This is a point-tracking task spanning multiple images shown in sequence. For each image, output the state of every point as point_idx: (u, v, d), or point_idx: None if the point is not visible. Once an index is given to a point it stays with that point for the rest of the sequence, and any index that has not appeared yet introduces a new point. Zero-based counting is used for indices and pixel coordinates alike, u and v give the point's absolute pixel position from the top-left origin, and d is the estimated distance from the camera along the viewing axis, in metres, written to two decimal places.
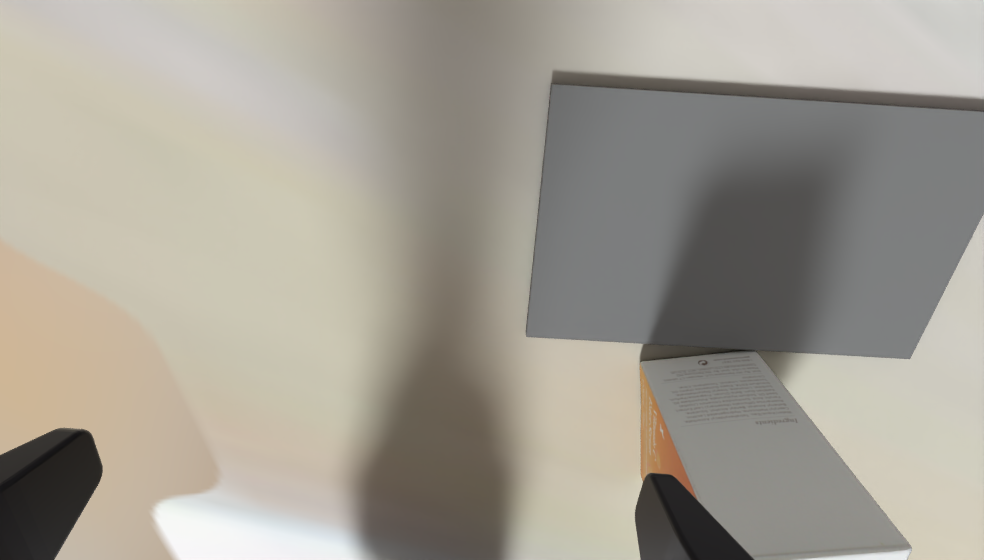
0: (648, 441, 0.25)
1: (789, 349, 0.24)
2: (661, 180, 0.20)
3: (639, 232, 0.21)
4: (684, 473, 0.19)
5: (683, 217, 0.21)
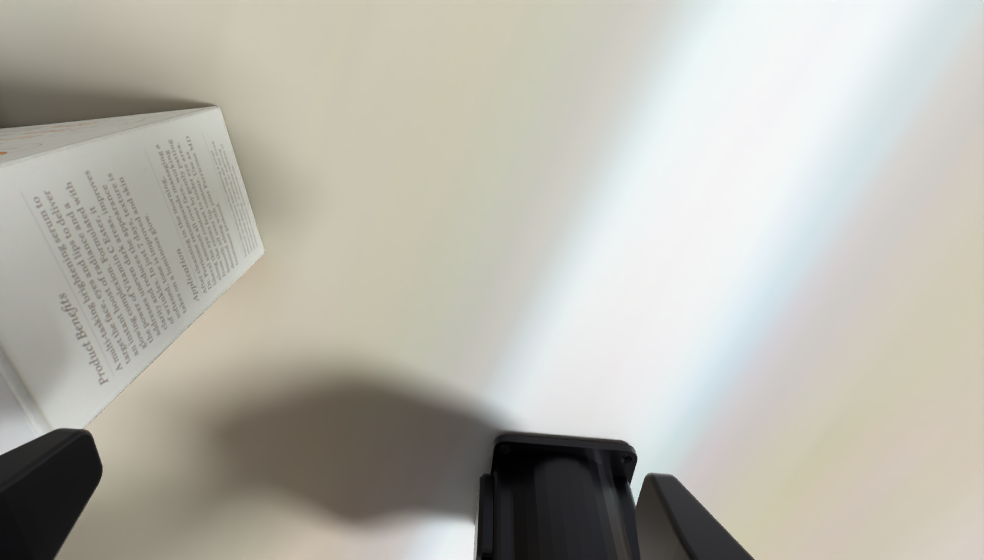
0: None
1: None
2: None
3: None
4: None
5: None
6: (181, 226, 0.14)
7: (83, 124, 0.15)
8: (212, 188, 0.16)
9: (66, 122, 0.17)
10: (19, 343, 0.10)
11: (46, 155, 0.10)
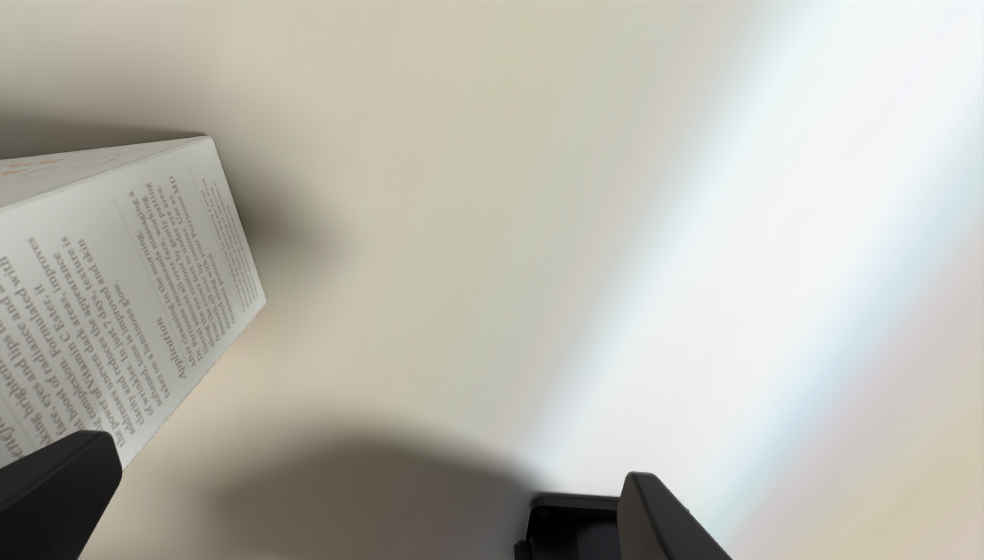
0: None
1: None
2: None
3: None
4: None
5: None
6: (163, 290, 0.12)
7: (46, 162, 0.13)
8: (202, 236, 0.13)
9: (29, 157, 0.14)
10: None
11: None
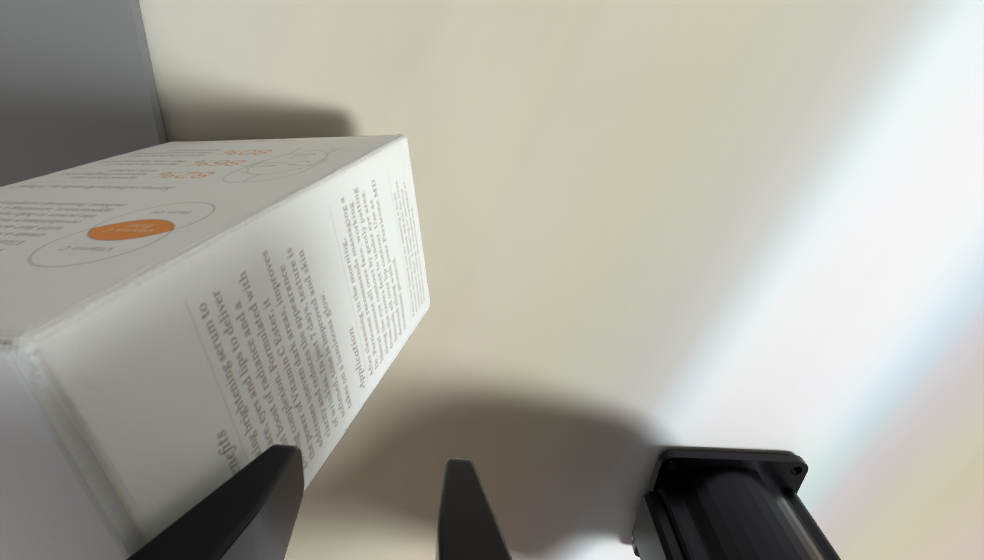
0: None
1: (144, 93, 0.15)
2: None
3: None
4: None
5: None
6: (357, 298, 0.11)
7: (257, 152, 0.13)
8: (390, 241, 0.13)
9: (239, 143, 0.14)
10: (162, 520, 0.07)
11: (220, 240, 0.07)
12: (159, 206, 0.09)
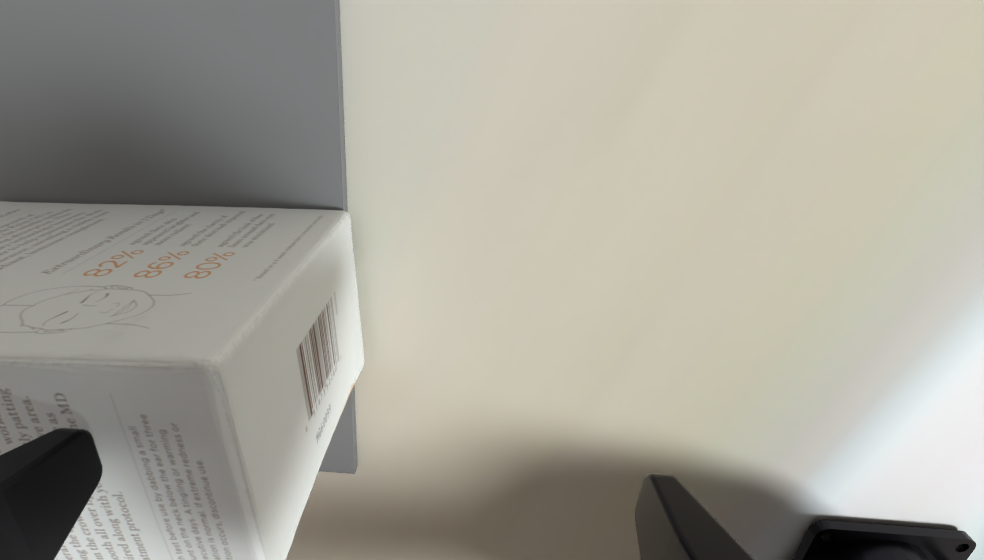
0: None
1: (336, 150, 0.14)
2: None
3: None
4: None
5: None
6: None
7: (200, 272, 0.11)
8: (109, 473, 0.09)
9: (280, 247, 0.12)
10: None
11: None
12: None
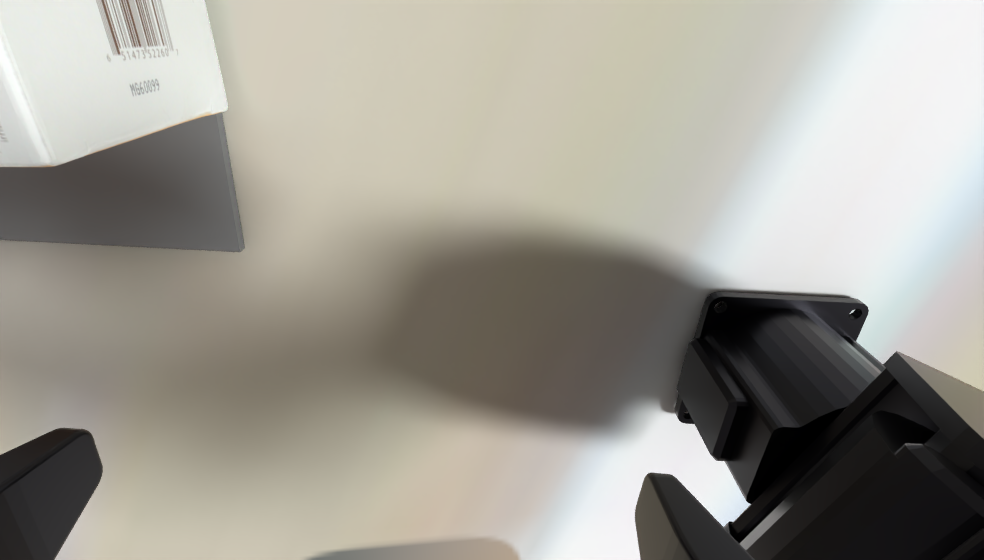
0: None
1: None
2: None
3: None
4: None
5: None
6: None
7: None
8: None
9: None
10: None
11: None
12: None
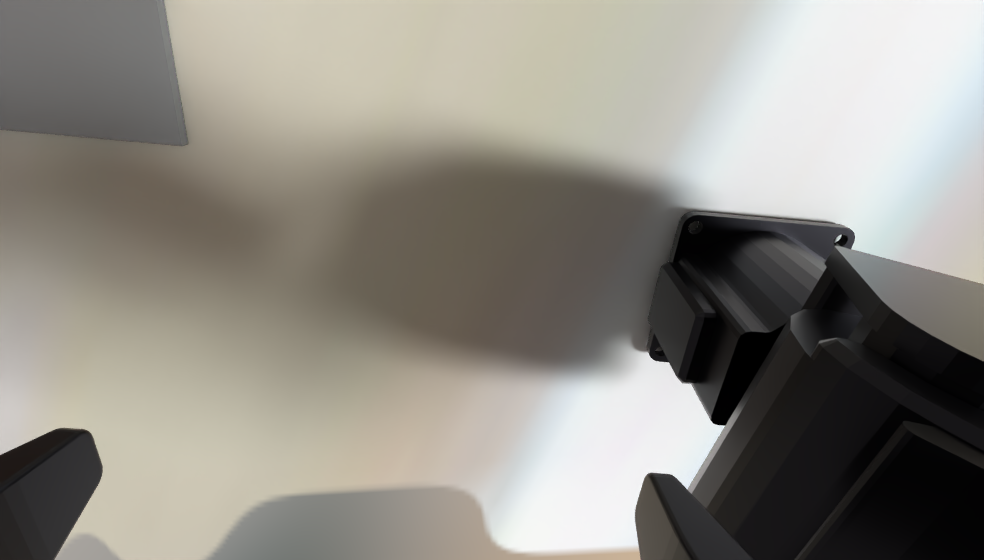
0: None
1: None
2: None
3: None
4: None
5: None
6: None
7: None
8: None
9: None
10: None
11: None
12: None
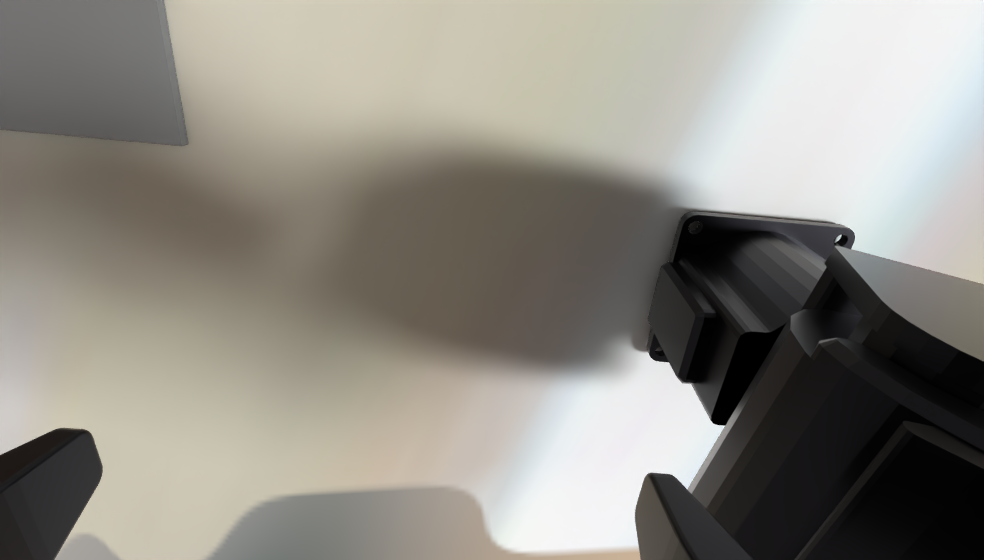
0: None
1: None
2: None
3: None
4: None
5: None
6: None
7: None
8: None
9: None
10: None
11: None
12: None
